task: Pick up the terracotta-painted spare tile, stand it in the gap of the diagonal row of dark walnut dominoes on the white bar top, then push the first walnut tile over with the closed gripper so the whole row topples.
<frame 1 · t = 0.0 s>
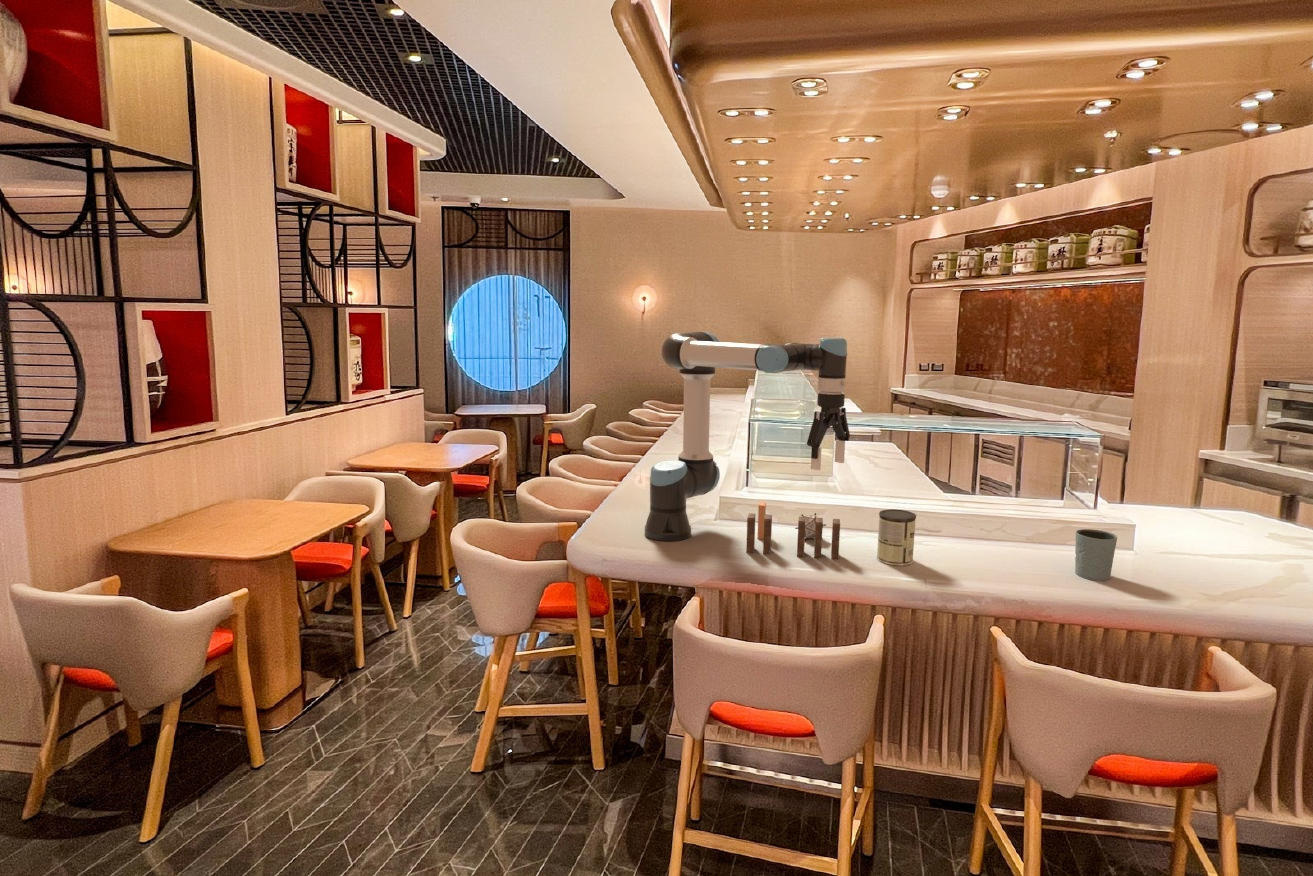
hand: (827, 466, 219), 28 cm above the bar counter, fingers open, 13 cm apart
game die: (809, 539, 244), on the bar counter
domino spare: (761, 536, 245), on the bar counter
domino 2: (766, 551, 230), on the bar counter
domino 4: (800, 554, 228), on the bar counter
domino 5: (817, 555, 227), on the bar counter
grey green cup: (1091, 575, 213), on the bar counter
coffee can: (894, 560, 224), on the bar counter
domino 1: (750, 550, 231), on the bar counter
domino 6: (834, 556, 226), on the bar counter
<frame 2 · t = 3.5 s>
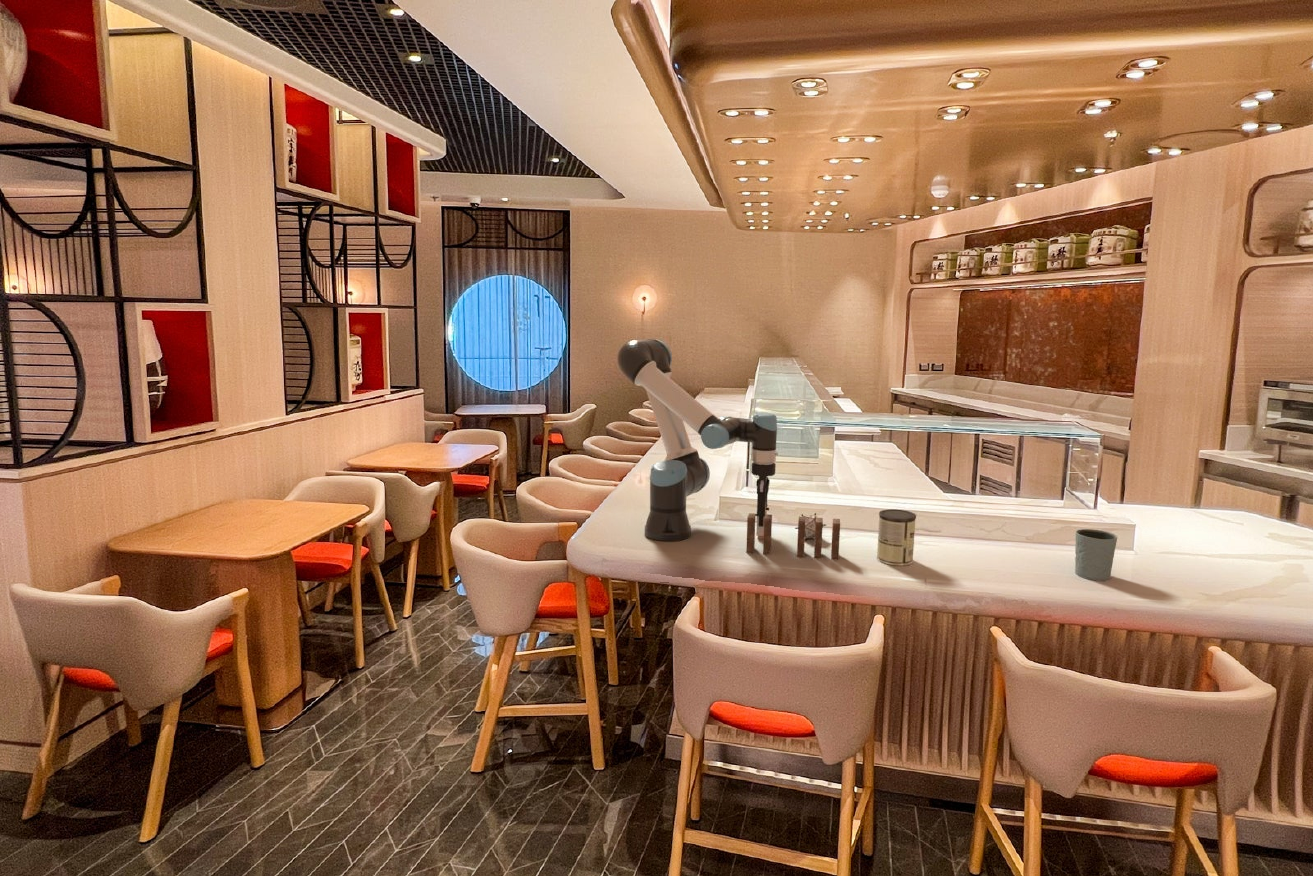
hand: (761, 532, 245), 1 cm above the bar counter, fingers closed on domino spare, 5 cm apart
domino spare: (761, 536, 245), on the bar counter, touching gripper
everything else where it was.
when the fingers open (2 cm above the bar counter, at t = 8.9 s): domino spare stays where it is, on the bar counter.
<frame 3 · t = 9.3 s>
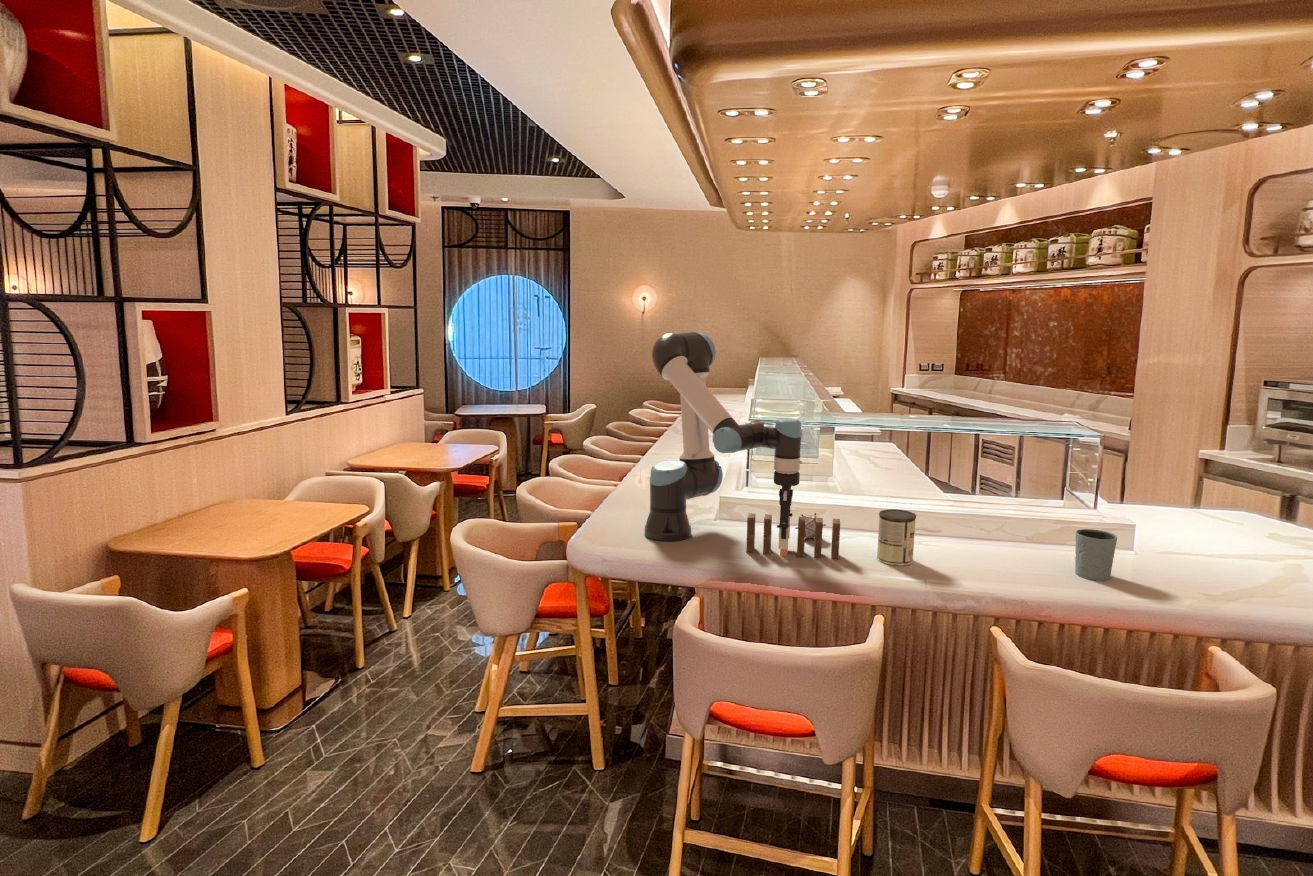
hand: (784, 543, 229), 3 cm above the bar counter, fingers open, 10 cm apart
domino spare: (783, 553, 229), on the bar counter
everything else where it was.
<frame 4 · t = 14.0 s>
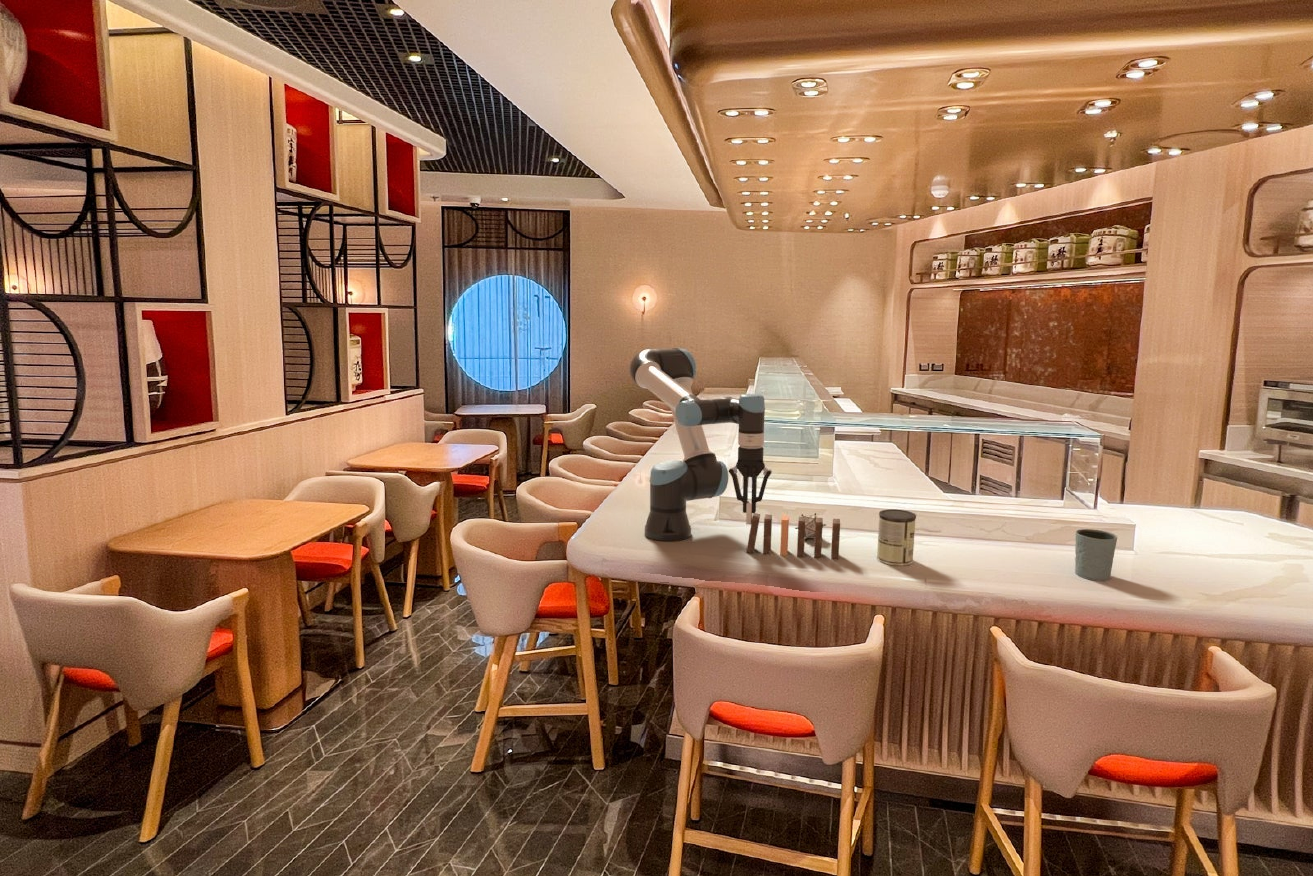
hand: (749, 523, 230), 9 cm above the bar counter, fingers closed
domino 1: (750, 550, 231), on the bar counter, tilted 8°
everything else where it was.
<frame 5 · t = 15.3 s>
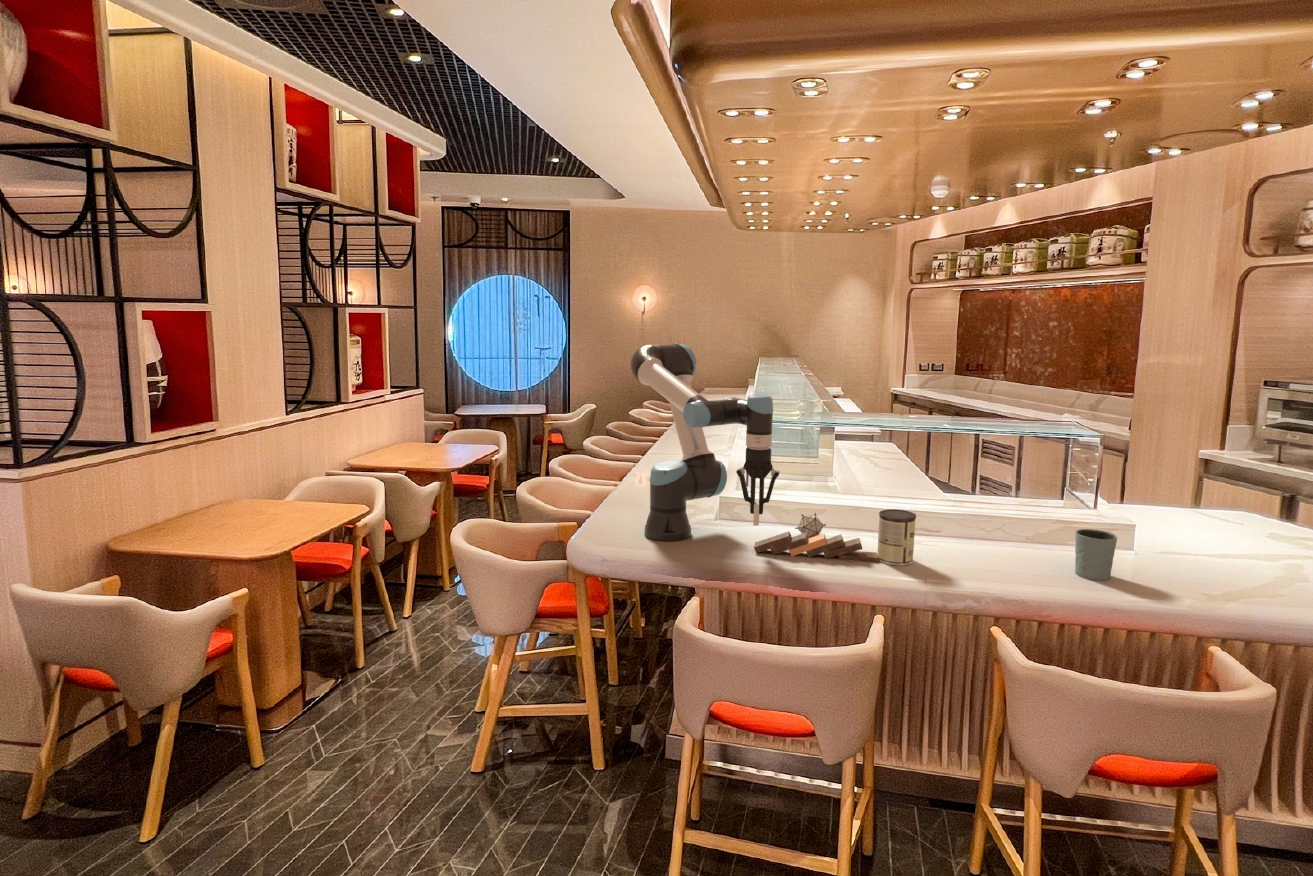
hand: (756, 524, 230), 8 cm above the bar counter, fingers closed
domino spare: (790, 550, 229), point 1 cm above the bar counter, tilted 66°, touching domino 4
domino 2: (772, 549, 230), point 1 cm above the bar counter, tilted 67°, touching domino 1
domino 4: (807, 551, 228), point 1 cm above the bar counter, tilted 66°, touching domino 5, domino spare
domino 5: (824, 552, 227), point 1 cm above the bar counter, tilted 71°, touching domino 4
domino 1: (755, 547, 231), point 1 cm above the bar counter, tilted 67°, touching domino 2
domino 6: (838, 555, 226), on the bar counter, tilted 90°
everything else where it was.
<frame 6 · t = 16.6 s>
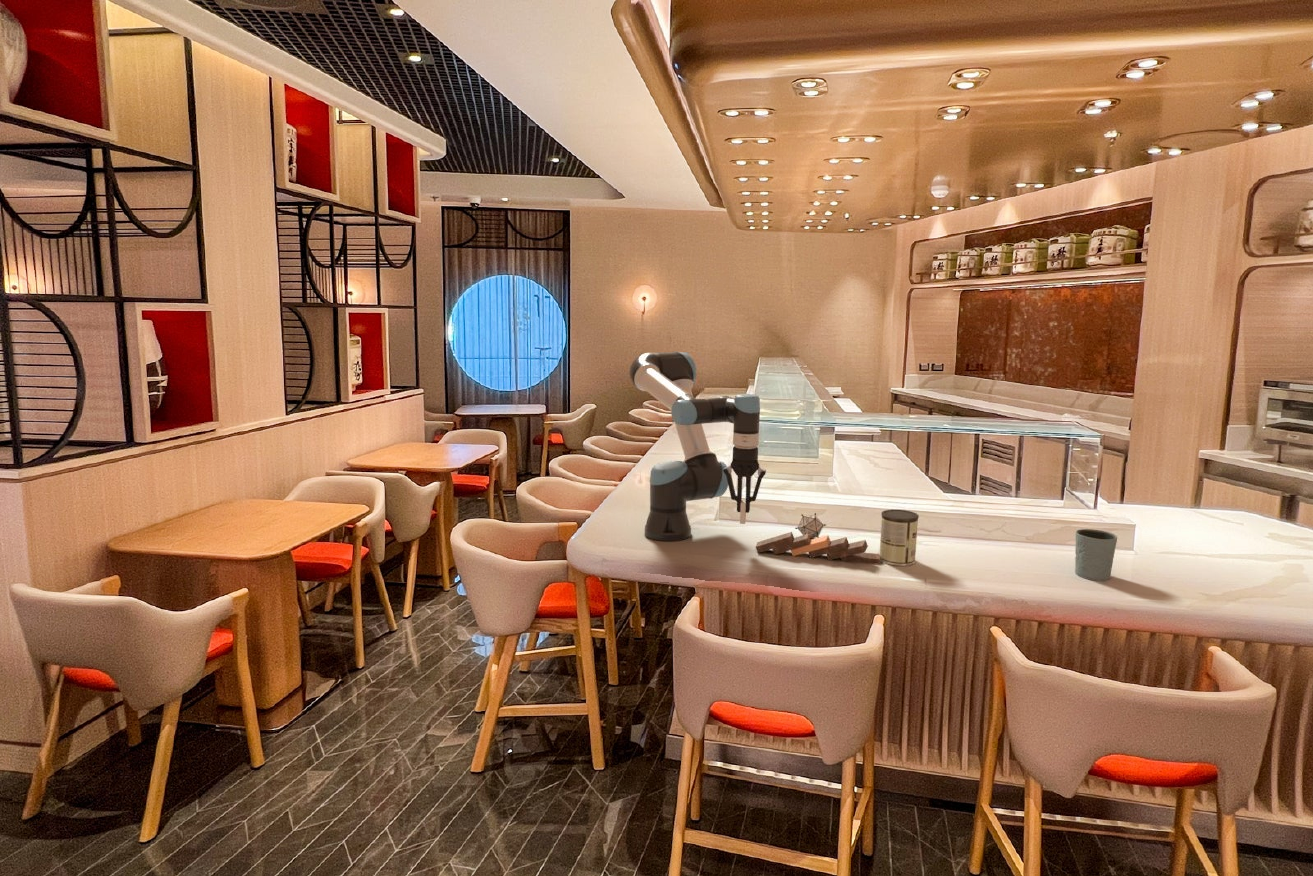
hand: (742, 522, 231), 9 cm above the bar counter, fingers closed
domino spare: (793, 550, 229), point 1 cm above the bar counter, tilted 68°, touching domino 2, domino 4
domino 2: (774, 549, 230), point 1 cm above the bar counter, tilted 68°, touching domino 1, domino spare
domino 4: (810, 552, 227), point 1 cm above the bar counter, tilted 68°, touching domino 5, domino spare
domino 5: (829, 553, 225), point 1 cm above the bar counter, tilted 69°, touching domino 4
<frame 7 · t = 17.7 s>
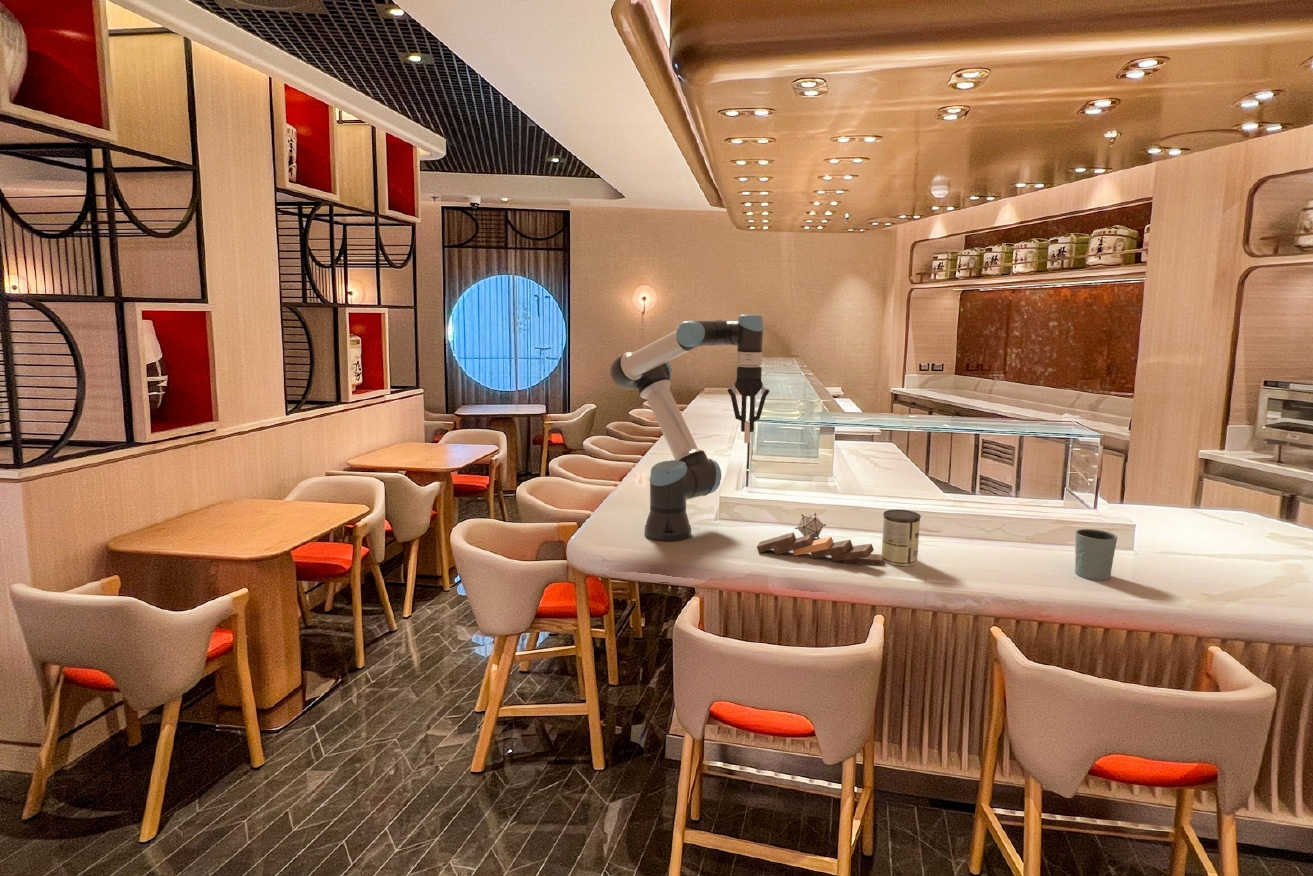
hand: (747, 442, 235), 32 cm above the bar counter, fingers closed
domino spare: (796, 549, 229), point 1 cm above the bar counter, tilted 68°, touching domino 2, domino 4
domino 4: (815, 552, 226), point 1 cm above the bar counter, tilted 69°, touching domino 5, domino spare
domino 5: (835, 554, 224), point 2 cm above the bar counter, tilted 71°, touching domino 4, domino 6
domino 6: (843, 558, 224), on the bar counter, tilted 90°, touching domino 5
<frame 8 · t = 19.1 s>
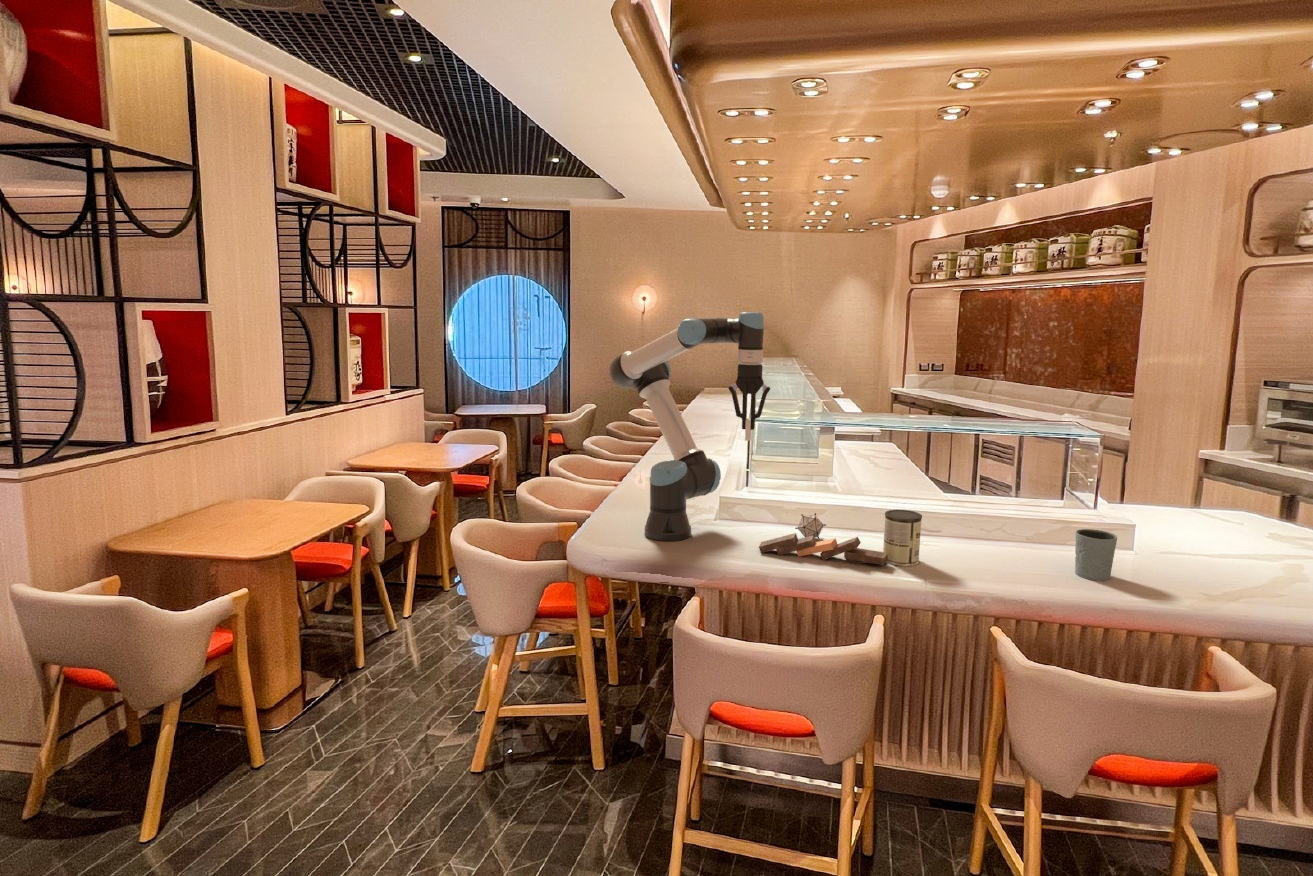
hand: (747, 439, 235), 32 cm above the bar counter, fingers closed
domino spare: (799, 550, 228), point 1 cm above the bar counter, tilted 69°, touching domino 2, domino 4
domino 4: (823, 554, 225), point 1 cm above the bar counter, tilted 61°, touching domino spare
domino 5: (847, 552, 223), point 2 cm above the bar counter, tilted 90°, touching domino 6
at the end: domino 6 tilted 90°; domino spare tilted 70°; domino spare inside the target area (3.6 cm from its centre), point 1.0 cm above the bar counter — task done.
